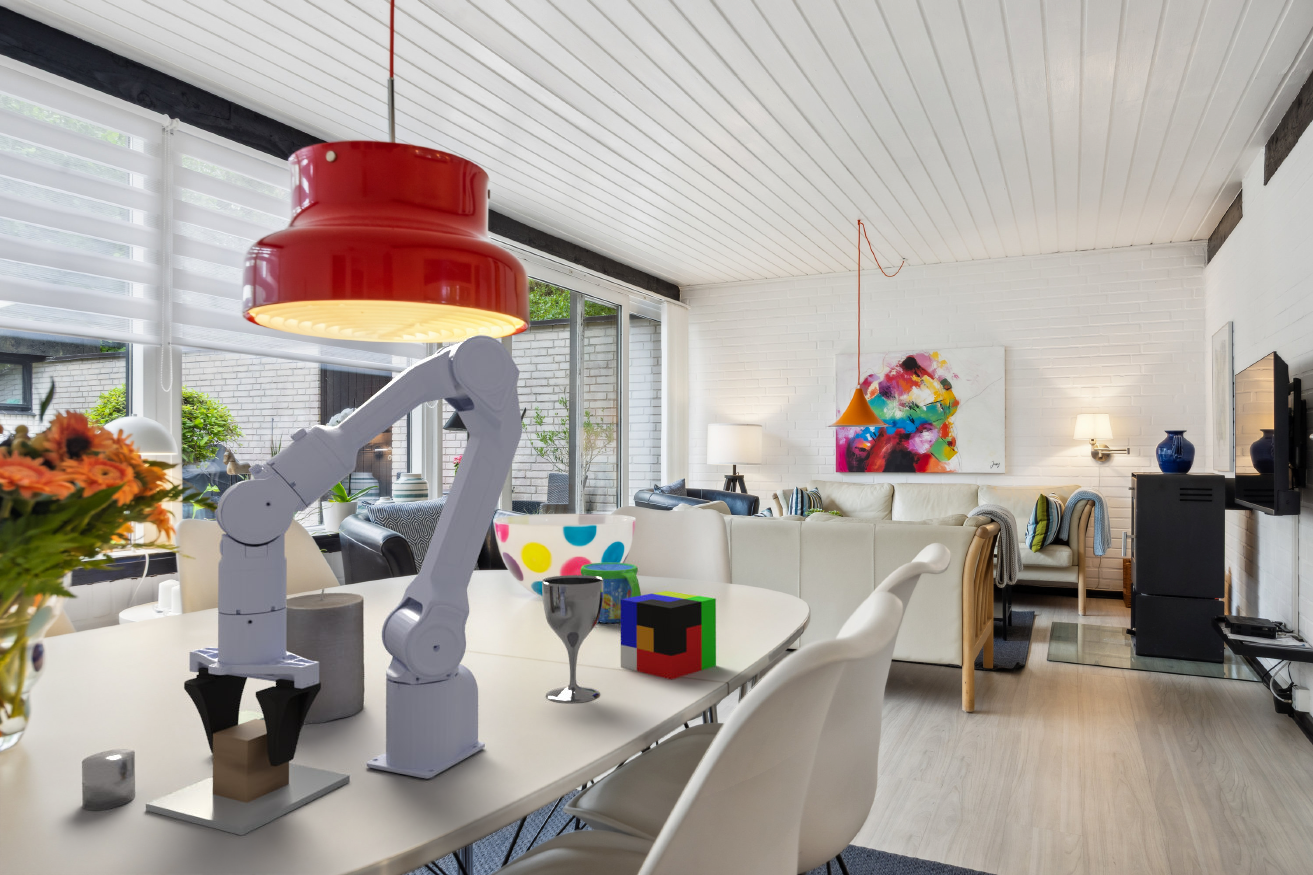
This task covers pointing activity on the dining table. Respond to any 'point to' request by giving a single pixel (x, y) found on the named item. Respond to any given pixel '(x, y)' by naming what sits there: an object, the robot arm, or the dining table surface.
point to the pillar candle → (330, 650)
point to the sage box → (249, 716)
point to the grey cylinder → (108, 779)
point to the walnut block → (245, 763)
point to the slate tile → (245, 817)
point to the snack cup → (614, 586)
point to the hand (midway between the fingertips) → (252, 755)
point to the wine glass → (572, 624)
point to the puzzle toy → (668, 633)
